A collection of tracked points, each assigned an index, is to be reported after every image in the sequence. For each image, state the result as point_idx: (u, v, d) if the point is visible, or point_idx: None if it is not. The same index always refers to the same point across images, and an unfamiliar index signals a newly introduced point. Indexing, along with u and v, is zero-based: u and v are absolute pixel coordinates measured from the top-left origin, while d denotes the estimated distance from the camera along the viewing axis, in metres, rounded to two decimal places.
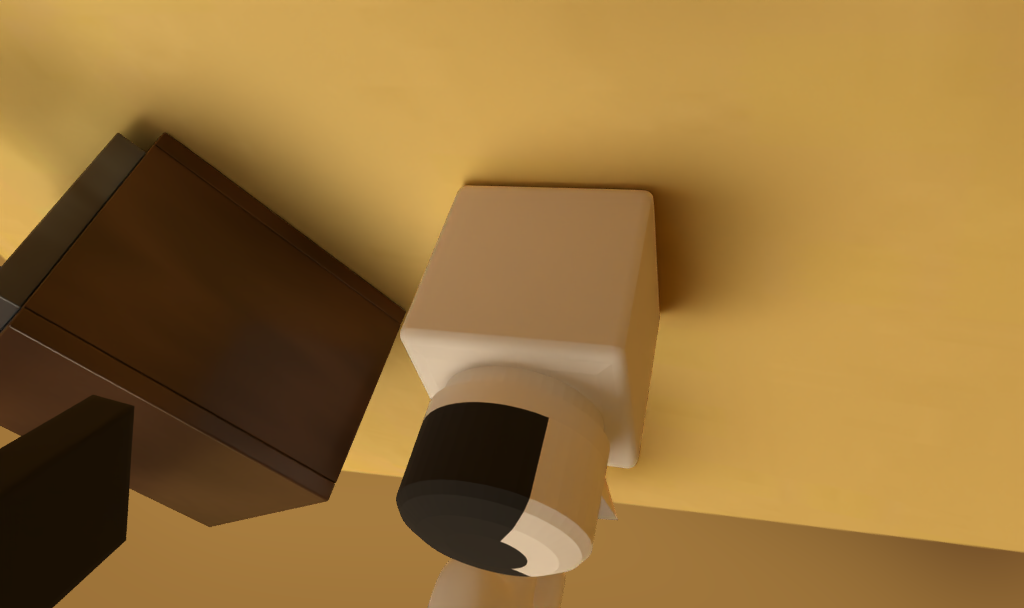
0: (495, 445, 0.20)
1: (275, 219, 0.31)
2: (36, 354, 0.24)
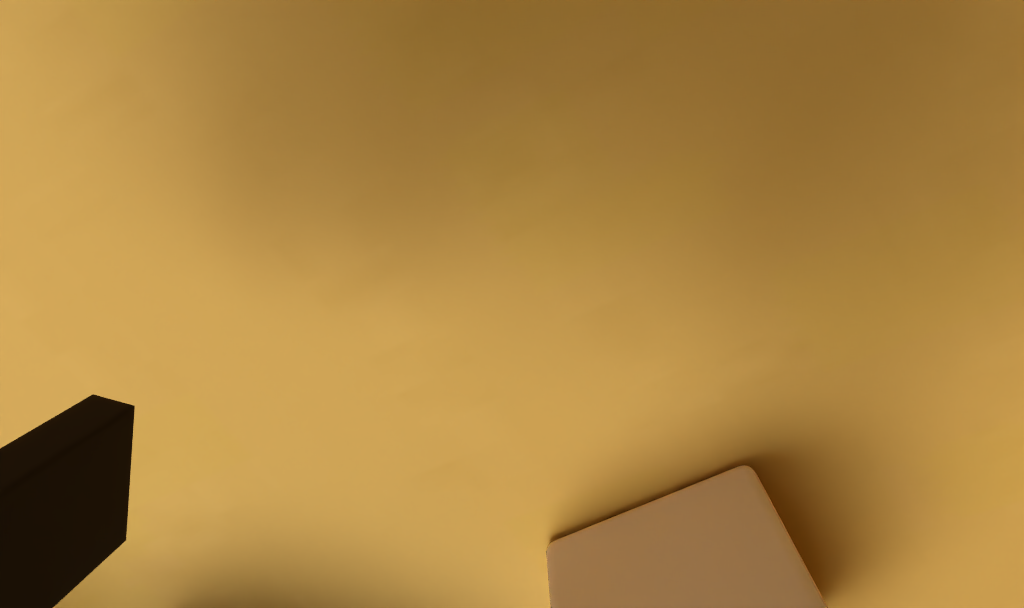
0: None
1: None
2: None
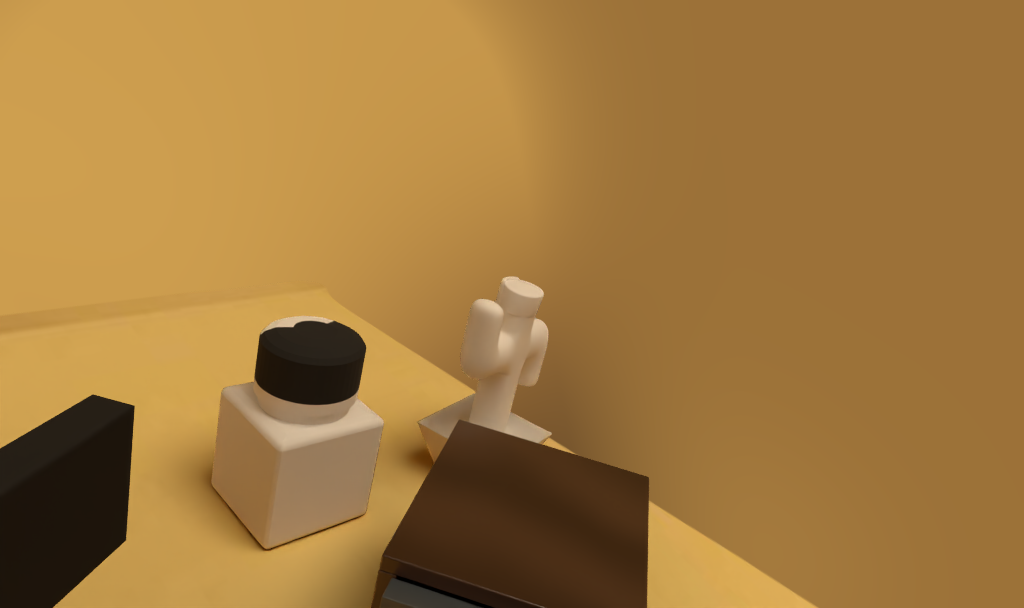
0: (260, 364, 0.41)
1: None
2: (415, 544, 0.31)
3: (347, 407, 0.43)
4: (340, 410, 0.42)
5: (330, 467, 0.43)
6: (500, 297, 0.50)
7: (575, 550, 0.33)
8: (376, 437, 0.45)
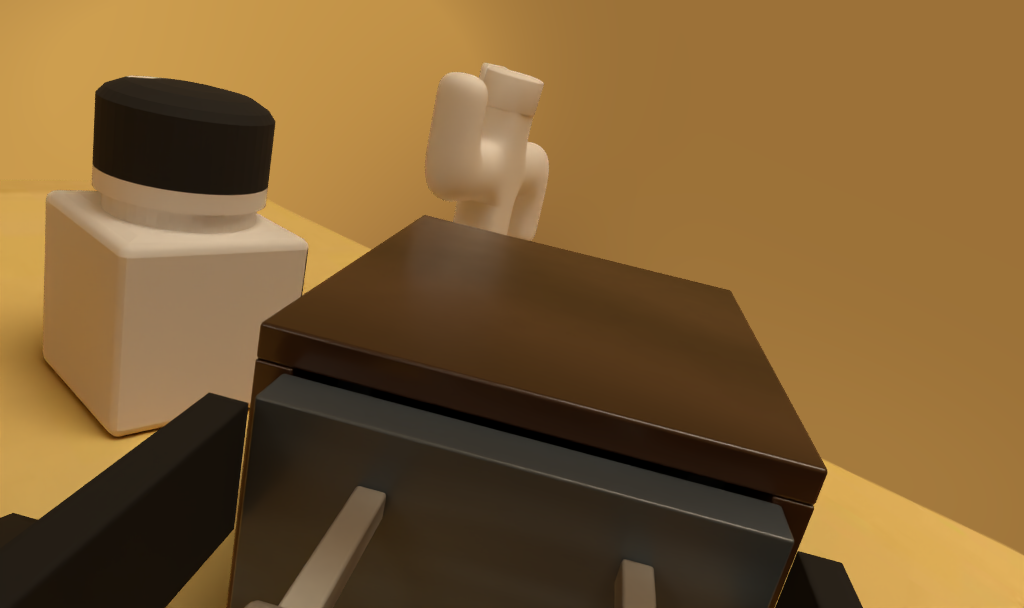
0: (96, 129, 0.25)
1: None
2: (334, 316, 0.15)
3: (245, 210, 0.27)
4: (232, 210, 0.27)
5: (220, 305, 0.27)
6: None
7: (643, 348, 0.18)
8: (297, 268, 0.29)
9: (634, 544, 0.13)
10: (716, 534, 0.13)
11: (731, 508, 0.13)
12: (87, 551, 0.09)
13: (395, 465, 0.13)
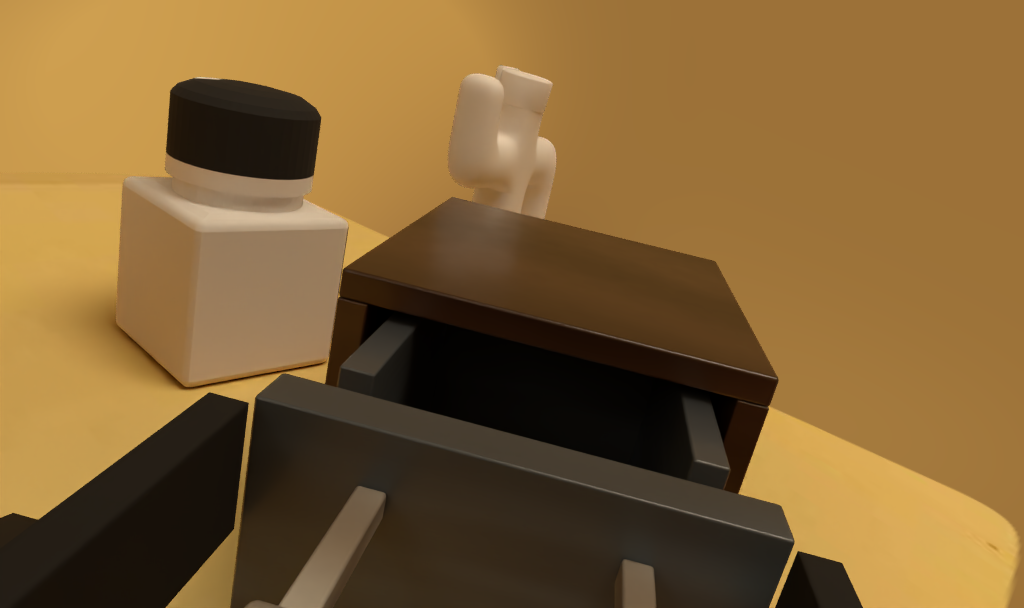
0: (171, 123, 0.30)
1: None
2: (396, 266, 0.20)
3: (297, 193, 0.31)
4: (286, 193, 0.31)
5: (275, 275, 0.31)
6: None
7: (639, 297, 0.22)
8: (338, 245, 0.33)
9: (634, 544, 0.13)
10: (716, 534, 0.13)
11: (731, 508, 0.13)
12: (87, 551, 0.09)
13: (396, 465, 0.13)
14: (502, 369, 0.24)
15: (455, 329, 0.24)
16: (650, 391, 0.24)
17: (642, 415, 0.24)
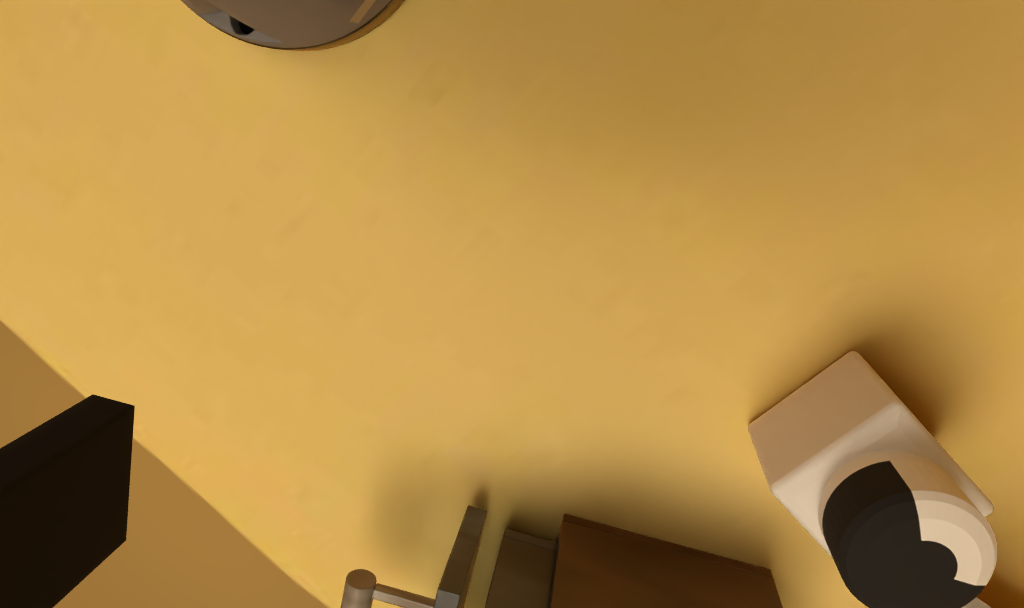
0: (869, 485, 0.31)
1: (650, 538, 0.44)
2: None
3: None
4: None
5: None
6: None
7: None
8: None
9: None
10: None
11: None
12: None
13: None
14: None
15: None
16: None
17: None
